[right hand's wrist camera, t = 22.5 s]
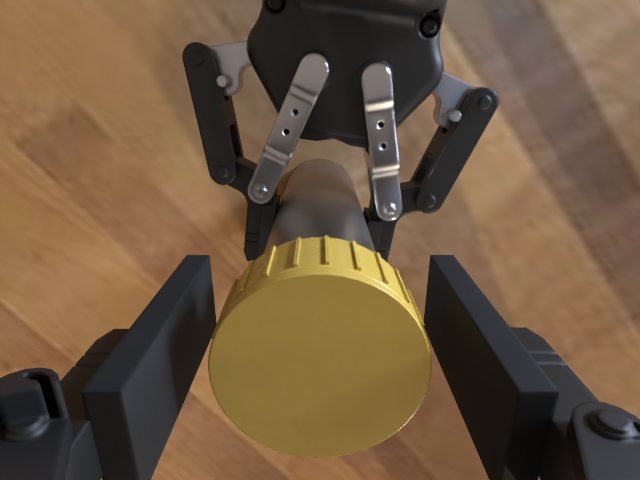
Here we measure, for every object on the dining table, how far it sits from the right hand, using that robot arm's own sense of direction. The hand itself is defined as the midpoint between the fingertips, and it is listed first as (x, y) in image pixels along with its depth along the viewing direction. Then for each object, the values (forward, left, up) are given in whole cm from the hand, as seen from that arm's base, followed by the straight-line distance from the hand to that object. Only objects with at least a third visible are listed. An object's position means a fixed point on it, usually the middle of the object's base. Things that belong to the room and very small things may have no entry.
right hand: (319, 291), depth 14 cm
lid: (0, 0, +4) cm, 4 cm away
